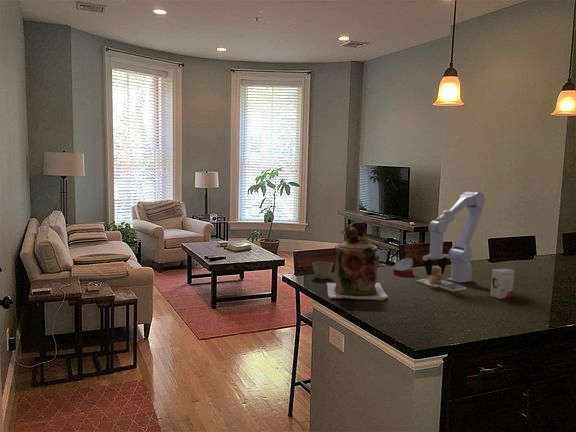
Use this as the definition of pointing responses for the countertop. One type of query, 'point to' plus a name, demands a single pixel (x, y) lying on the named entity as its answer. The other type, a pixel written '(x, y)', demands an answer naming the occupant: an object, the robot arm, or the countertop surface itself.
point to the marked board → (426, 282)
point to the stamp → (435, 275)
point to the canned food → (403, 267)
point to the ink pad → (452, 287)
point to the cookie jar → (356, 267)
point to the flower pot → (322, 269)
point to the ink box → (502, 283)
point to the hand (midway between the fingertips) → (435, 274)
